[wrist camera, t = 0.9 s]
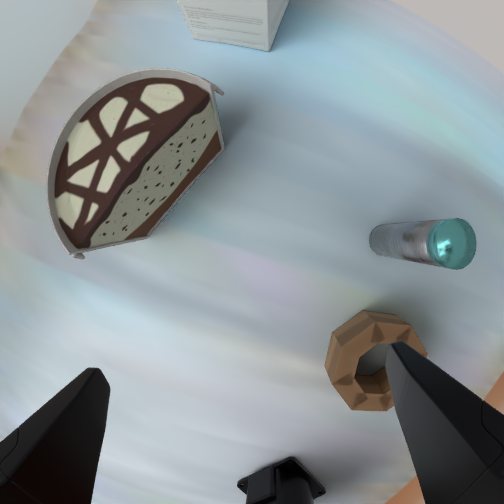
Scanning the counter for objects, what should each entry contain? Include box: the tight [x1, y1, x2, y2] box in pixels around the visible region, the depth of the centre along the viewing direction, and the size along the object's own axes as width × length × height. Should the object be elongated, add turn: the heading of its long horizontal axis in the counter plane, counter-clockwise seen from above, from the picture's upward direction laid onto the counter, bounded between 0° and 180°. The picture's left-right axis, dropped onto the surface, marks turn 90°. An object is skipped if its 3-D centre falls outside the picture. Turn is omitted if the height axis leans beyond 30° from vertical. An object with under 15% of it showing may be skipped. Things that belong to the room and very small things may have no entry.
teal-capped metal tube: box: [369, 218, 476, 270], centre depth 18 cm, size 2×2×11 cm
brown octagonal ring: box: [325, 311, 427, 411], centre depth 23 cm, size 7×7×4 cm
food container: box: [46, 68, 225, 259], centre depth 20 cm, size 12×6×10 cm, turn 138°
